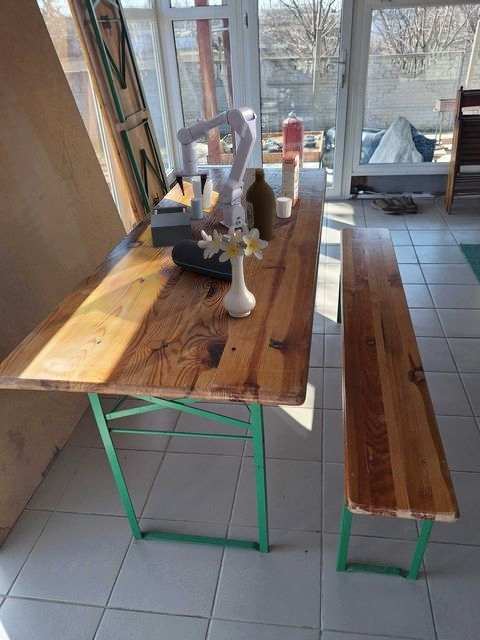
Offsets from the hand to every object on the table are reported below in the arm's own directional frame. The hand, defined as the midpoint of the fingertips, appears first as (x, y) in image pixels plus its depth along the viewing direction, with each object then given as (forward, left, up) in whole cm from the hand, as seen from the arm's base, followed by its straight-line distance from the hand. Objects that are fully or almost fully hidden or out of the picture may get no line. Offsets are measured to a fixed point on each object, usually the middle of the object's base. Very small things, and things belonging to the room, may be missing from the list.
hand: (193, 194), depth 204 cm
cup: (+12, -10, -10) cm, 18 cm away
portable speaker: (-53, +19, -10) cm, 57 cm away
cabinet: (-17, +17, -10) cm, 26 cm away
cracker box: (-5, -45, -10) cm, 46 cm away
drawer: (-6, +13, -9) cm, 17 cm away
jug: (-1, -1, -10) cm, 10 cm away
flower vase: (-81, +24, -10) cm, 85 cm away
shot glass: (-18, -33, -10) cm, 39 cm away
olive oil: (-34, -12, -10) cm, 37 cm away
